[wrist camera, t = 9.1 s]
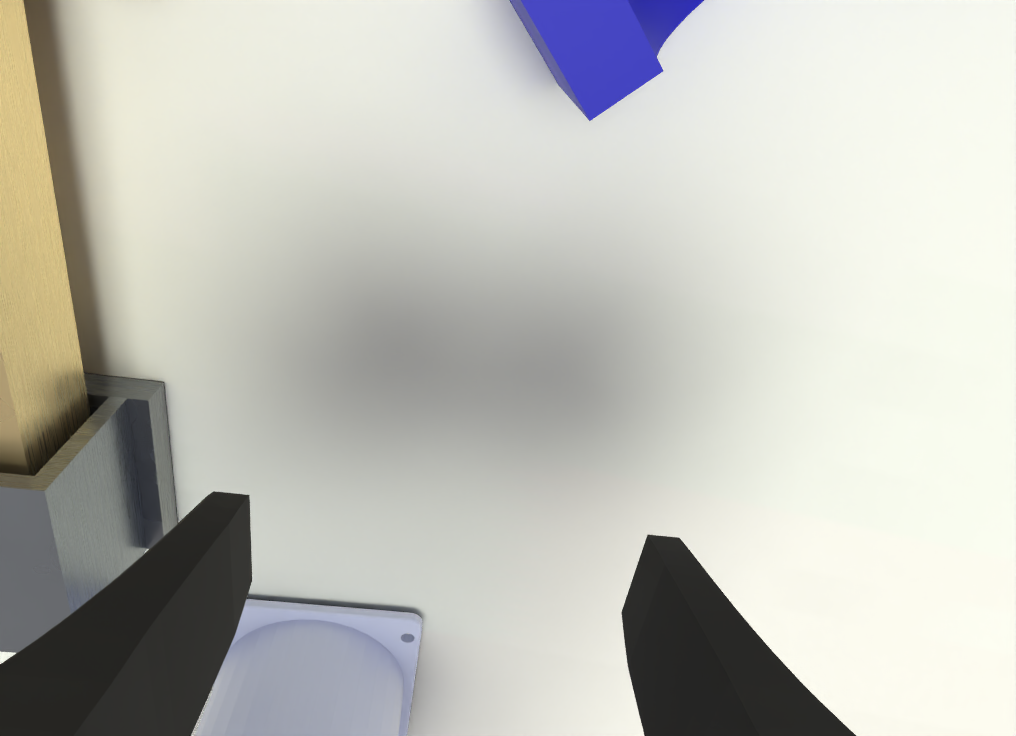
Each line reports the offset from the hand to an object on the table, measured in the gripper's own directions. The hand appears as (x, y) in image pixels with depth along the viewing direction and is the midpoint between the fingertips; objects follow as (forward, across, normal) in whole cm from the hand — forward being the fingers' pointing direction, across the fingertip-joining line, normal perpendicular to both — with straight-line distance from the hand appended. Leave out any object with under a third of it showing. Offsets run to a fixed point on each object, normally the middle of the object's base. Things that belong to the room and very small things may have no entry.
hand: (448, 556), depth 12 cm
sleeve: (+9, +12, +6) cm, 16 cm away
